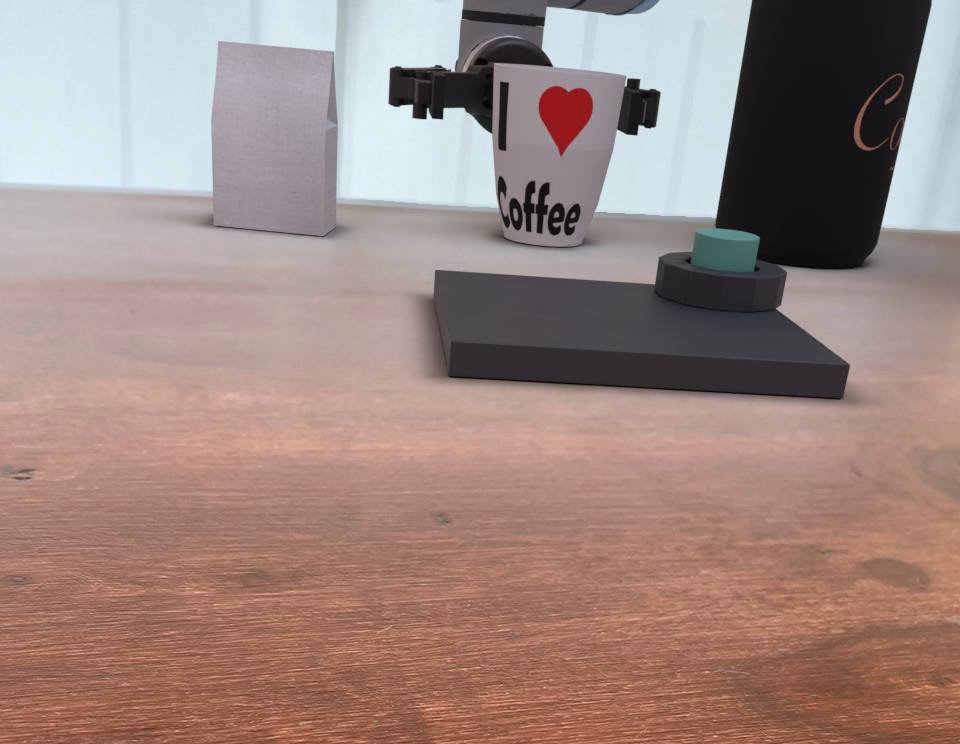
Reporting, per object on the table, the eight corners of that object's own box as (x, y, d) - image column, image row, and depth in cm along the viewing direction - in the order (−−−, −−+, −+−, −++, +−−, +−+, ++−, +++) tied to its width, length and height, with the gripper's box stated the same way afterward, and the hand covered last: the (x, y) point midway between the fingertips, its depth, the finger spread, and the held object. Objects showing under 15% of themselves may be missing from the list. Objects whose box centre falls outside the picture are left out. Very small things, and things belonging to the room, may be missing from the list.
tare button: (743, 267, 58) (749, 230, 57) (760, 280, 55) (768, 241, 54) (683, 263, 58) (689, 226, 57) (698, 276, 55) (704, 237, 54)
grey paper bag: (323, 236, 72) (326, 52, 67) (213, 225, 72) (209, 41, 67) (335, 227, 75) (339, 50, 70) (230, 216, 75) (227, 40, 70)
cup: (459, 237, 75) (471, 62, 70) (511, 224, 82) (526, 63, 77) (578, 256, 72) (599, 75, 68) (622, 241, 79) (644, 75, 74)
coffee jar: (850, 277, 73) (924, -59, 65) (688, 250, 78) (738, -69, 69) (889, 257, 82) (959, -43, 73) (741, 233, 86) (791, -53, 78)
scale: (753, 317, 61) (765, 256, 59) (853, 399, 48) (871, 324, 46) (432, 296, 59) (436, 233, 57) (448, 376, 46) (453, 298, 45)
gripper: (646, 146, 103) (705, 177, 84) (358, 122, 100) (353, 150, 82) (659, 50, 99) (724, 61, 81) (361, 23, 97) (356, 28, 78)
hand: (537, 106), depth 81 cm, fingers open, 13 cm apart
